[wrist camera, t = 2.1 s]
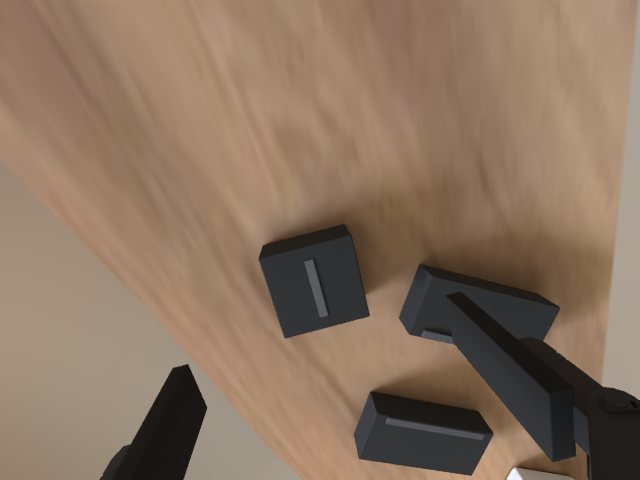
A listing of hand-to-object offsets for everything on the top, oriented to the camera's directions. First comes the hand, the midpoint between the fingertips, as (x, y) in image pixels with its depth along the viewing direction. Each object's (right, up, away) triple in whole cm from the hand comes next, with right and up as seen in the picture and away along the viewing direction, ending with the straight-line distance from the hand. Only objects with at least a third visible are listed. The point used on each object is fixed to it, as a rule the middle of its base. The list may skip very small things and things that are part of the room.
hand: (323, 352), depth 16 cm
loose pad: (-1, +3, +9) cm, 10 cm away
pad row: (+11, -6, +13) cm, 18 cm away
